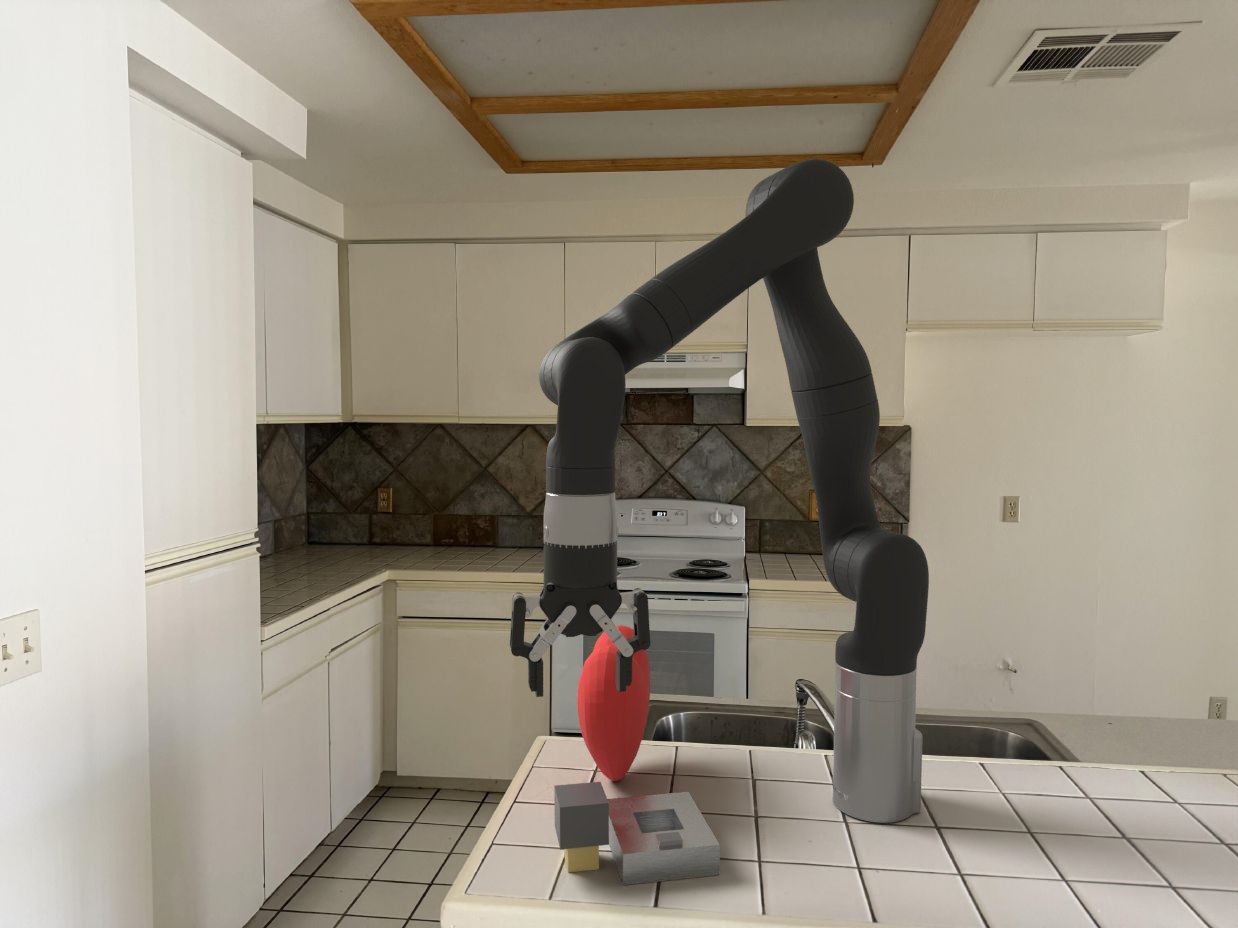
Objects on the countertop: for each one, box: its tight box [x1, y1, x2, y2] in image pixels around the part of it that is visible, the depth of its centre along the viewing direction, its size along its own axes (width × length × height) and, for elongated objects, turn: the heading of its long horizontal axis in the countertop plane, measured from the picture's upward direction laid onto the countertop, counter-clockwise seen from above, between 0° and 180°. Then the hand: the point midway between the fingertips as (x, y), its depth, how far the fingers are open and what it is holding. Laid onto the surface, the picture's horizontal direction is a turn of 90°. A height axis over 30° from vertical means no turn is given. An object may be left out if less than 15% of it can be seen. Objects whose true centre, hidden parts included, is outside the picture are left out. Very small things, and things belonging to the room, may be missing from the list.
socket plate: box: [607, 791, 721, 886], centre depth 91 cm, size 10×12×4 cm
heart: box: [576, 624, 651, 782], centre depth 108 cm, size 20×9×19 cm, turn 172°
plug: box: [553, 781, 610, 873], centre depth 89 cm, size 5×5×7 cm
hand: (580, 691), depth 87 cm, fingers open, 8 cm apart
